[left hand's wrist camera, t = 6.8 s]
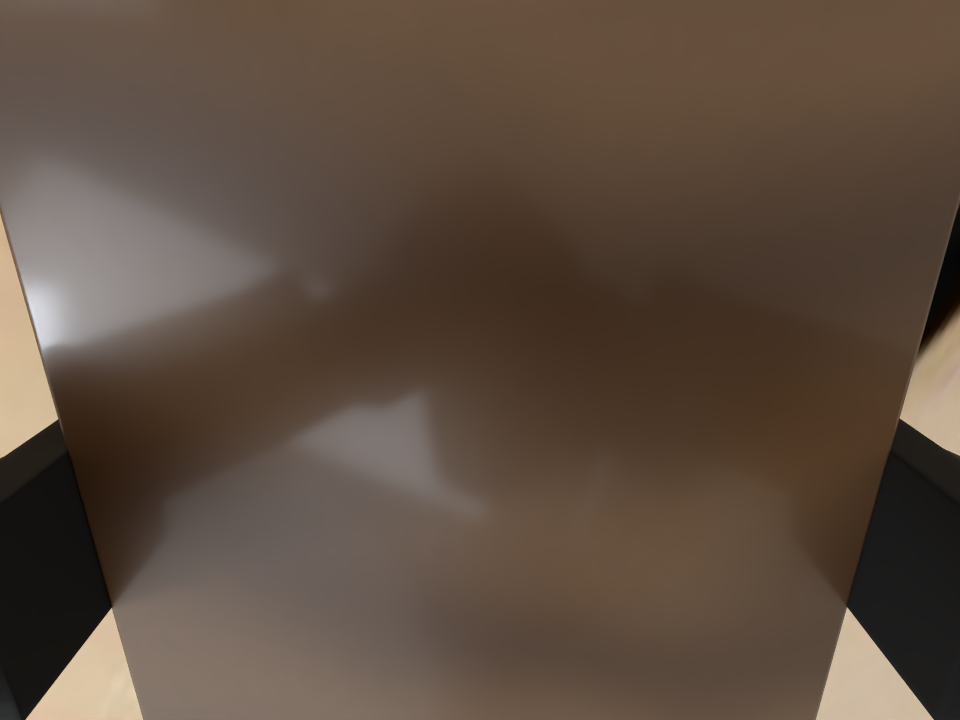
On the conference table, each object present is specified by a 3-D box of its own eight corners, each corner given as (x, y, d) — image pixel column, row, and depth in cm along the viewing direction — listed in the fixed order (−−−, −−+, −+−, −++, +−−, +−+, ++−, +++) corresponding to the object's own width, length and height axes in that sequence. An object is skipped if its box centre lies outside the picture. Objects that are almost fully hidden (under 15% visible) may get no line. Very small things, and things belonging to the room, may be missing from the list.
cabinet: (212, -322, 13) (-509, -1557, 3) (742, -322, 13) (1452, -1546, 3) (307, 471, 19) (155, 773, 10) (650, 470, 19) (804, 771, 10)
